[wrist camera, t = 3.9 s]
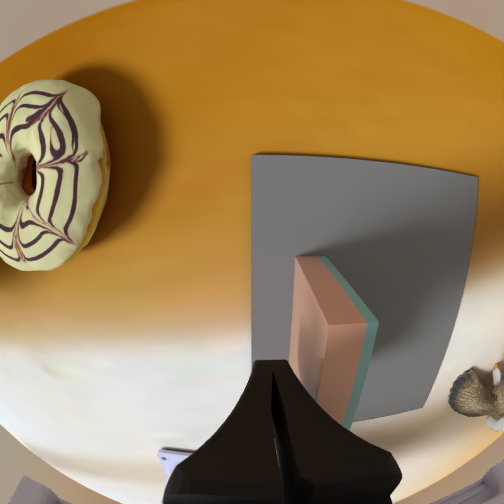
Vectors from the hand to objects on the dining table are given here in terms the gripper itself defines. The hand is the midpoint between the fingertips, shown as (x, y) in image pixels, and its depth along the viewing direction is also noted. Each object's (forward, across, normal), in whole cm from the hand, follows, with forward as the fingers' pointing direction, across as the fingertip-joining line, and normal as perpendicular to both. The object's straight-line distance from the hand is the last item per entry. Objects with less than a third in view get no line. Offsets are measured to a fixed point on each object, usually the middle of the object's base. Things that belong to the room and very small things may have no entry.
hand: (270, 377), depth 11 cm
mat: (+5, -6, 0) cm, 8 cm away
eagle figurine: (+5, -21, +9) cm, 23 cm away
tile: (+4, -2, 0) cm, 5 cm away
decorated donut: (+5, +13, -9) cm, 16 cm away
